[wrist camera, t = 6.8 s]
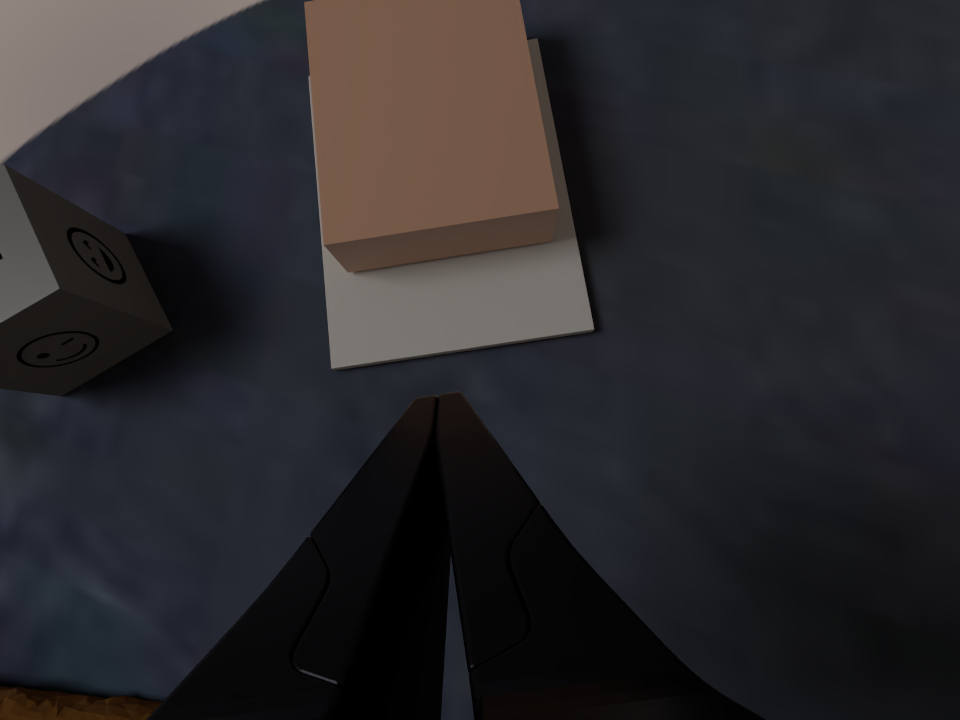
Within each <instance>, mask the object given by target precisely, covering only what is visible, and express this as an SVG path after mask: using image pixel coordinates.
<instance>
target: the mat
mask: <svg viewBox="0 0 960 720" xmlns="http://www.w3.org/2000/svg"><path fill="white" fill-rule="evenodd" d="M527 43H528V48H529V53H530V58H531V64H532V69H533V74H534V79H535V85H536V90H537V95H538V101H539V106H540V111H541V116H542V122H543V127H544V132H545V137H546V143H547V148H548V153H549V158H550V164H551V169H552V174H553V180H554V185H555V190H556V195H557V201H558V206H559V211H558V215H557V220H556V224H555V229H554V234H553V238H552V241H550V242H544V243H537V244H531V245H524V246H518V247H511V248H505V249H498V250H492V251H485V252H479V253H472V254H466V255H460V256H453V257H447V258H440V259H434V260H427V261H421V262H414V263H408V264H401V265H395V266H388V267H382V268H375V269H369V270H362V271H356V272H350V273H348V272H347V271H346V270H345V269H344V268H343V267H342V265H341V264H340V263H339V262H338V261H337V260H336V259H335V257H334V256H333V255H332V254H331V253H330V252H329V251H328V249H327V248H326V247H325V246H324V243H323V230H322V218H321V205H320V192H319V180H318V167H317V155H316V142H315V130H314V117H313V105H312V92H311V80H310V76H309V89H310V101H311V114H312V127H313V139H314V152H315V165H316V177H317V190H318V203H319V215H320V228H321V241H322V254H323V266H324V279H325V292H326V304H327V317H328V330H329V342H330V355H331V368H332V369H333V370H341V369H348V368H355V367H361V366H368V365H375V364H382V363H388V362H395V361H402V360H408V359H415V358H422V357H428V356H435V355H442V354H449V353H455V352H462V351H469V350H475V349H482V348H489V347H495V346H502V345H509V344H516V343H522V342H529V341H536V340H542V339H549V338H556V337H562V336H569V335H576V334H583V333H589V332H593V330H594V325H593V320H592V315H591V310H590V305H589V300H588V295H587V290H586V285H585V279H584V274H583V269H582V264H581V259H580V254H579V249H578V244H577V238H576V233H575V228H574V223H573V218H572V213H571V208H570V203H569V197H568V192H567V187H566V182H565V177H564V172H563V167H562V162H561V156H560V151H559V146H558V141H557V136H556V131H555V126H554V121H553V116H552V110H551V105H550V100H549V95H548V90H547V85H546V80H545V75H544V69H543V64H542V59H541V54H540V49H539V44H538V39H531V40H527Z"/></svg>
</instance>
